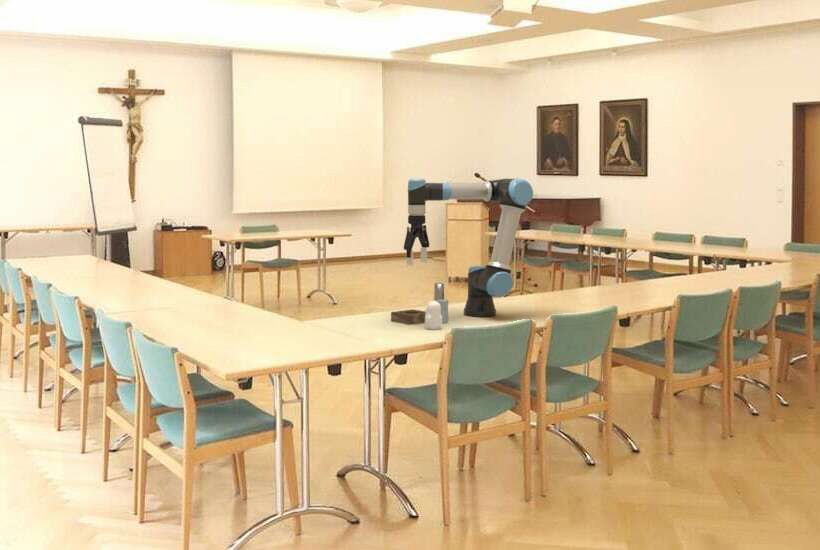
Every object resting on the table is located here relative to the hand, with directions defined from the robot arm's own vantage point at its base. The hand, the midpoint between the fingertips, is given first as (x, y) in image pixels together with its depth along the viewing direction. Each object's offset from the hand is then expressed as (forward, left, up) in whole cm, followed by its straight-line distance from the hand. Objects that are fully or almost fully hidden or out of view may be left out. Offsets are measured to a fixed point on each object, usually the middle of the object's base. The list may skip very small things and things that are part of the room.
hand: (416, 263), depth 388 cm
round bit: (-18, -4, -27) cm, 32 cm away
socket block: (-3, -6, -27) cm, 27 cm away
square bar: (-11, +5, -27) cm, 29 cm away
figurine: (+2, +13, -27) cm, 30 cm away
